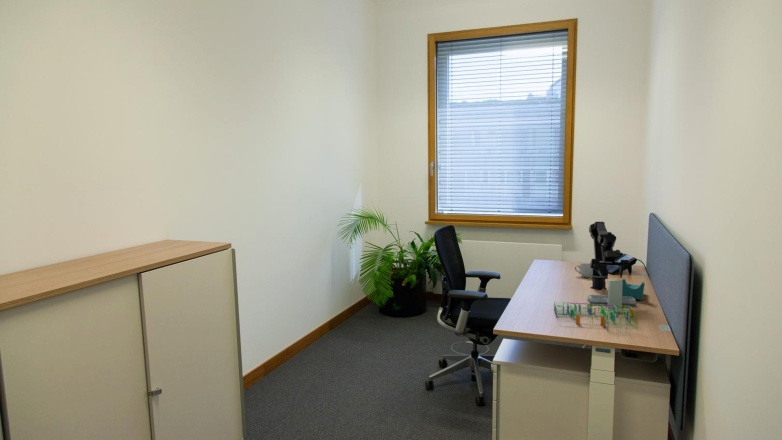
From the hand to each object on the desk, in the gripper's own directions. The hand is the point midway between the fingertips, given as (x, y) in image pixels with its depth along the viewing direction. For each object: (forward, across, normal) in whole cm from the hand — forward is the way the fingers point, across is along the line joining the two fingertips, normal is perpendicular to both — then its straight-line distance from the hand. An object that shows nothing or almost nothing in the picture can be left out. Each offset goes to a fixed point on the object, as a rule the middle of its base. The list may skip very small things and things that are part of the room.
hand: (611, 277), depth 257 cm
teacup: (-36, -2, +55) cm, 65 cm away
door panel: (+15, 0, +4) cm, 16 cm away
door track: (+10, 0, +9) cm, 14 cm away
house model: (+34, -13, -14) cm, 39 cm away
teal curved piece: (-2, +14, +22) cm, 26 cm away
